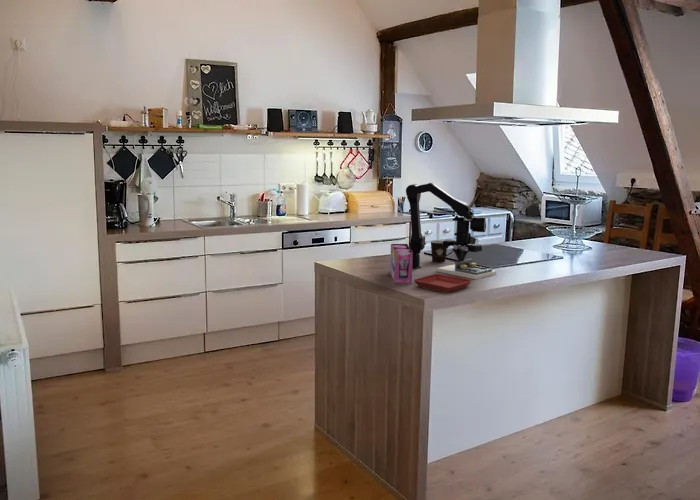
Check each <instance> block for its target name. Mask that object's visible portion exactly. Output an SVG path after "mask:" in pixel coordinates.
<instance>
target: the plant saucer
mask: <svg viewBox="0 0 700 500" xmlns="http://www.w3.org/2000/svg"><path fill="white" fill-rule="evenodd" d="M472 280H473V279H469V278H468V279H467V278H464V277H456V276H453V275H447V274H443V273H442V274H441V273H434V274H429V275H426V276H423V277H418V278H413V279H412V282H413V283H415V284H416V285H417V286H418V287H419V286H420V287H419V288H422V287H424V288H423V289H427V288H429V289H428V290H432V289H434V290H433V291H437V290H439V292H442V291H444V292H443V293H451V292H455V291H458V290H460V289H461V290H462V289H463V288H466V287H467V286H469V285H470V283H472Z"/></svg>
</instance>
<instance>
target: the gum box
mask: <svg viewBox="0 0 700 500" xmlns="http://www.w3.org/2000/svg"><path fill="white" fill-rule="evenodd" d="M409 247H410V245H408V243H391V244H390V263H389V264H390V265H389V266H390V270H389V271H390V276H391V275H392V276H391V278H393V279H392V281H393V284H405V283H412V284H413V269H412V256H413V253H412V250H411V249H410V248H409Z"/></svg>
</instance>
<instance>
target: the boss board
mask: <svg viewBox="0 0 700 500" xmlns="http://www.w3.org/2000/svg"><path fill="white" fill-rule="evenodd" d="M469 266H471V267H474V266H477V263H476V262H473V263H470V264H469ZM460 268H462V269H465V268H467V265H460ZM436 272H438V273H442V274H446V275H447V274H448V275H451V276H458V277H461V278H466V279H467V278H468V279H471V280H477V279H478V280H479V279H482V278H487V277H490V276H495V275H497V270H493V269H492V271H490V272H486V273H482V274H478V275H475V274H470V273H465V272H460V271H455V263H454V264H450V265H444V266H440V267H436Z"/></svg>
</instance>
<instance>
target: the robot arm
mask: <svg viewBox="0 0 700 500" xmlns="http://www.w3.org/2000/svg"><path fill="white" fill-rule="evenodd" d="M428 192H429V193H430V194H432V195H434V196H435V197H436V198H438V199H439V200H441V201H442V202H444V203H445V204H447V205H448V206H449V207H450V208H451V209H452V210H453V211H454V212H455V214H456V215H455V216H454V217H453V218H452V222H453V221H454V222H456V231H455V232H454V234H453V235H454V236H455V239H446V240H445V239H444V240H442V241H443V243H442V246H443V247H448V246H449V247H450V246H451V247H452V248H451V249H452V251H453V250H454V252H453V253H454V254H455V256H456V258H457V260H458V261H462V260H465V258H466V256H467V254H468V253H469V252H470V253H477V252H482V251H483V247H482V245H481V244H478V243H476V242H477V238H476V237H473V236H471V235H472V234H471V232H470V230H471V231H472V232H473V233H486V231H487V221H486V217H485V216H482V217H478V216H476V215H475V214H474V213H473V212H472V208H471V205H470V204H469V203H467V202H465V201H463V200H460V199H457V198H455V197H453V195H451V194H450V193H448V192H447V191H445V190H444V189H442V188H441V187H439V186H438V185H436V183H434V182H428V183H425V184H420V185H419V184H418V183H413V184H409V185H407V187H406V188H405V194H406V198H407V201H408V203H409V211H410V212H409V213H410V224H411V225H410V226H411V227H410V228H411V235H410V236H411V237H410V241H409V248H410V249H411V250H412V253H413V256H412V270H415V269H420V268H422V266H421V264H420V263H421V261H420V260H421V259H420V258H421V255H420V254H421V251H423V250H424V249H425V245H427V242H426V235H424V236H423V234H422V228H421V214H420V213H421V212H420V200H421V197H422V196H421V195H422V193H428ZM449 247H448V248H449Z"/></svg>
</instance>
